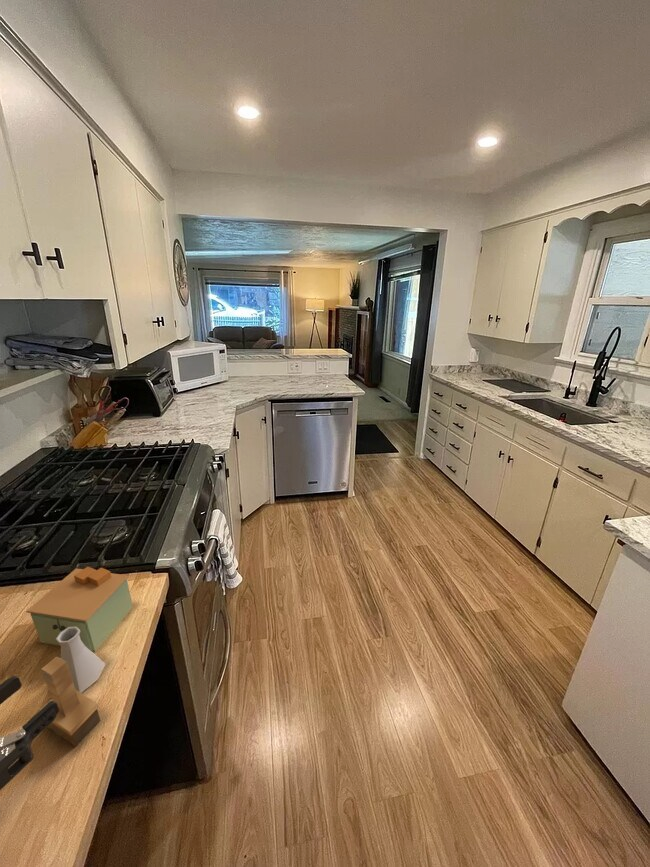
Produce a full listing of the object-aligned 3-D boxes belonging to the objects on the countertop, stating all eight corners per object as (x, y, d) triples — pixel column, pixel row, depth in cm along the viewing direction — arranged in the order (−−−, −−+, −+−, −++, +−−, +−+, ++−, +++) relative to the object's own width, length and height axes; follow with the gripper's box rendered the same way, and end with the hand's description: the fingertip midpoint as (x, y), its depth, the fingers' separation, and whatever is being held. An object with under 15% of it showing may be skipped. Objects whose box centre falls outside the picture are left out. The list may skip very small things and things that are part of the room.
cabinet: (35, 645, 69) (23, 612, 66) (84, 598, 80) (75, 568, 77) (93, 656, 67) (83, 622, 64) (135, 605, 78) (128, 575, 76)
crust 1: (84, 585, 73) (82, 579, 72) (75, 581, 74) (73, 575, 73) (98, 575, 75) (96, 570, 75) (89, 571, 76) (87, 566, 76)
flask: (45, 690, 61) (29, 648, 58) (82, 653, 68) (69, 613, 64) (80, 701, 60) (66, 658, 56) (113, 662, 66) (103, 621, 63)
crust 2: (98, 586, 73) (96, 580, 72) (89, 582, 74) (87, 576, 73) (111, 576, 75) (110, 571, 75) (102, 573, 76) (101, 567, 76)
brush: (75, 749, 53) (53, 689, 49) (45, 727, 56) (21, 669, 51) (102, 719, 57) (85, 661, 53) (73, 700, 60) (53, 643, 55)
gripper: (-120, 863, 32) (63, 695, 46) (-182, 784, 38) (-1, 654, 52) (-88, 903, 35) (76, 732, 49) (-150, 823, 40) (14, 689, 54)
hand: (36, 692), depth 50 cm, fingers open, 8 cm apart
